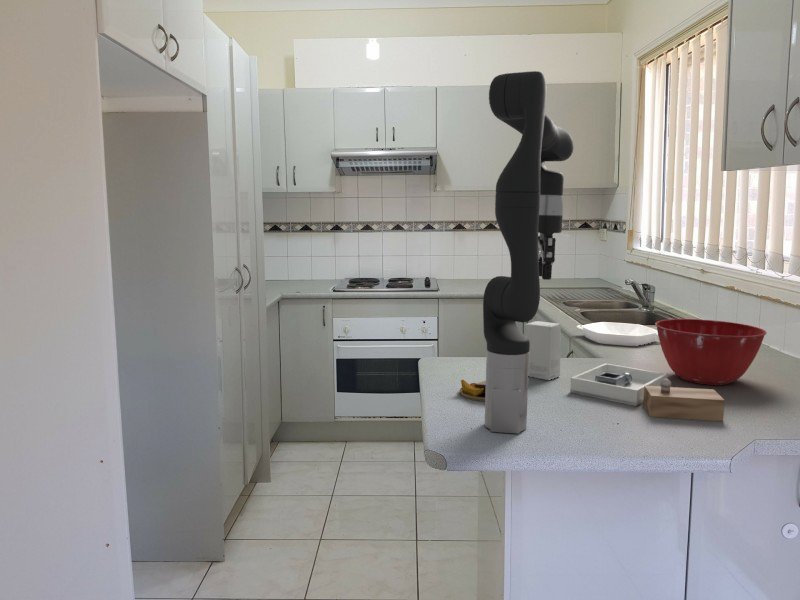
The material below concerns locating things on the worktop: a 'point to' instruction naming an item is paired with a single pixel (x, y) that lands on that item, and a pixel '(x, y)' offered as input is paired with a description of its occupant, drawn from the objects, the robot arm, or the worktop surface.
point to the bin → (626, 395)
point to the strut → (614, 378)
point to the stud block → (683, 402)
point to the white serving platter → (619, 333)
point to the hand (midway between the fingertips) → (543, 277)
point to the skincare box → (544, 349)
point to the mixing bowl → (709, 349)
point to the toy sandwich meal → (473, 390)
